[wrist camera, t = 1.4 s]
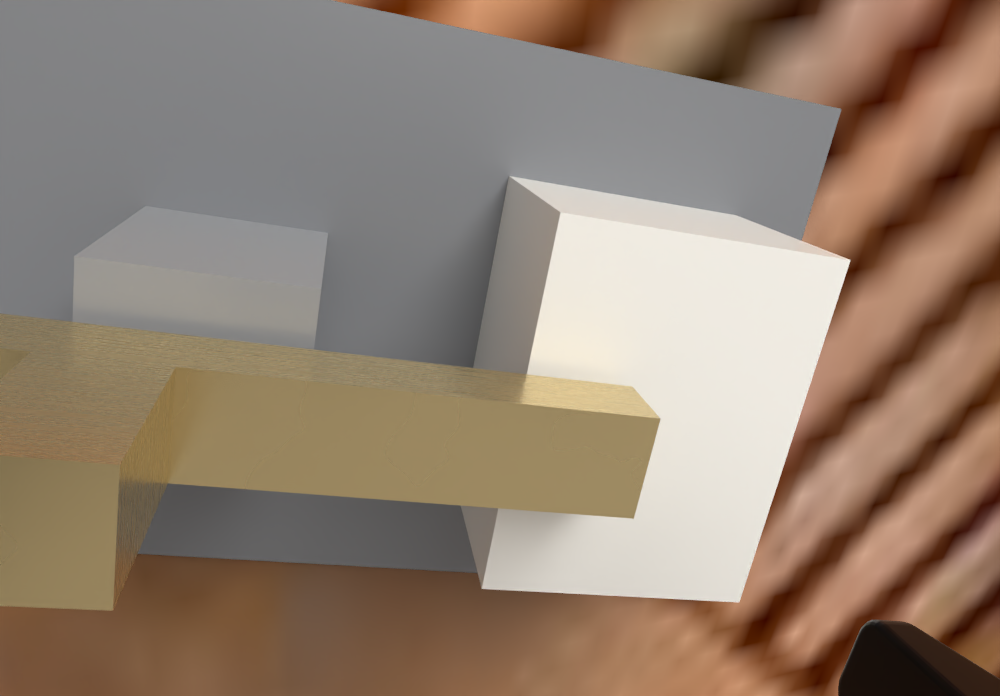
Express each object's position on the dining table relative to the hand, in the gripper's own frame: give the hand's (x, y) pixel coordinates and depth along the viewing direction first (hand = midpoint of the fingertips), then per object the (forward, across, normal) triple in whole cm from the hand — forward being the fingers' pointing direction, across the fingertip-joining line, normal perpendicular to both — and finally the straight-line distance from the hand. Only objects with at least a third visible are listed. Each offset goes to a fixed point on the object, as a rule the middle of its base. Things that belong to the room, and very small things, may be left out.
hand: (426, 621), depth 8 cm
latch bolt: (+7, +2, +1) cm, 7 cm away
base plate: (+13, +2, +2) cm, 14 cm away
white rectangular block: (+13, -5, +2) cm, 14 cm away
